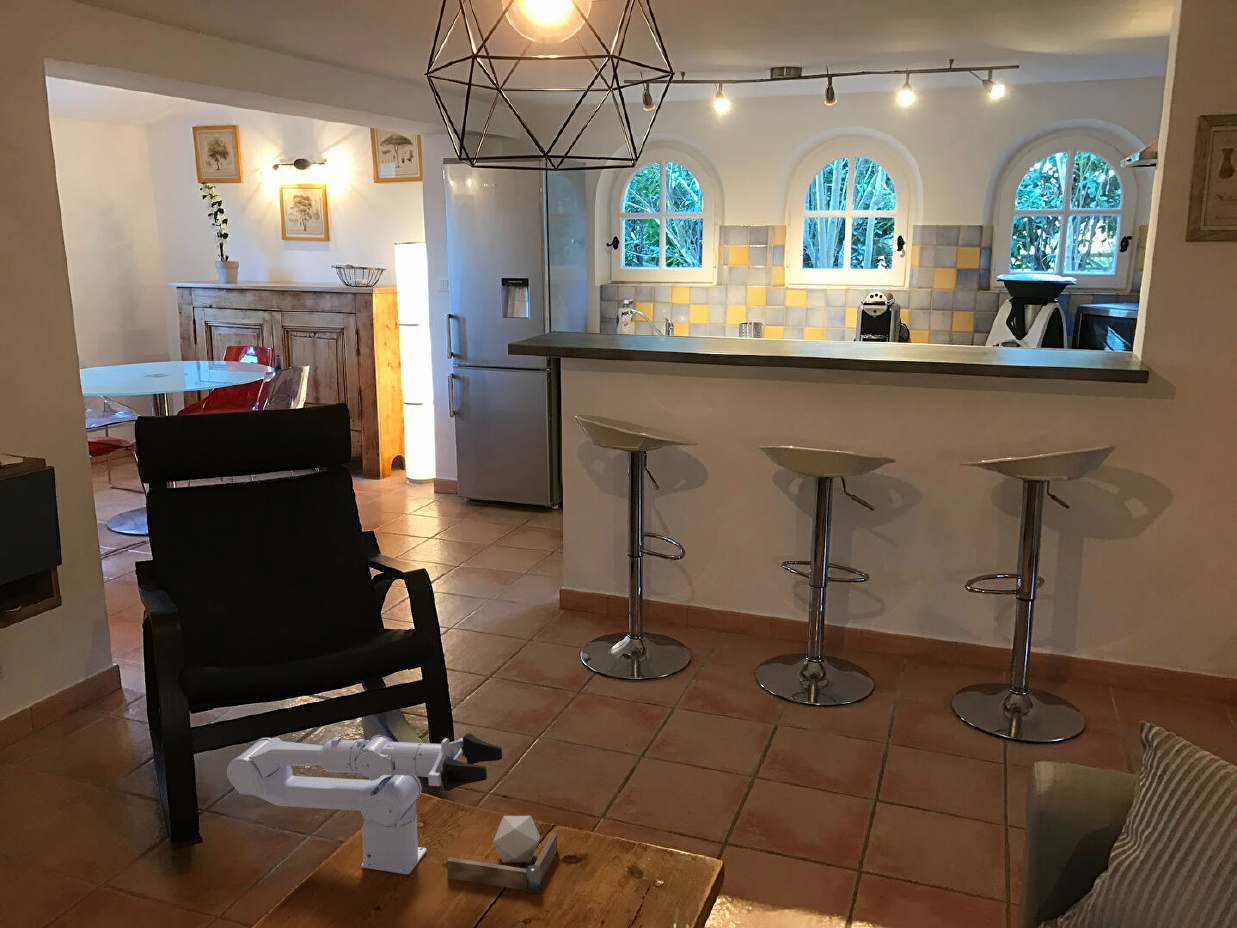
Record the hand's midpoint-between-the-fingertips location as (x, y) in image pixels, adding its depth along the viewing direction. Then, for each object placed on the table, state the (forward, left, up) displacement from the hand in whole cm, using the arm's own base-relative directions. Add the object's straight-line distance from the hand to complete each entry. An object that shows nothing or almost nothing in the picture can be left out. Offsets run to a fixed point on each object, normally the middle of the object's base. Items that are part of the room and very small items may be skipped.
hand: (493, 763), depth 176 cm
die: (+2, +6, -22) cm, 23 cm away
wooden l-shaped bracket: (+1, +3, -22) cm, 22 cm away
